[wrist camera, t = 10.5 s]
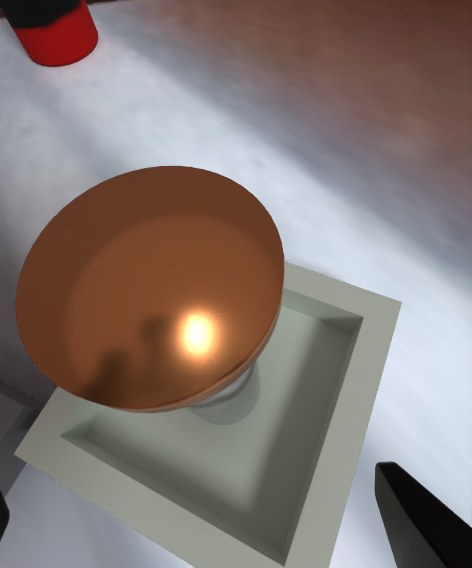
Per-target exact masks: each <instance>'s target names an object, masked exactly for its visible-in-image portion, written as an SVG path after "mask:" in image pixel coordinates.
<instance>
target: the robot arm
mask: <svg viewBox="0 0 472 568" xmlns="http://www.w3.org/2000/svg"><path fill="white" fill-rule="evenodd" d="M375 496H376V501H377V504H378V507H379V510H380V514H381V517H382V520H383V523H384V526H385V530H386V533H387V536H388V539H389V543H390V546H391V549H392V552H393V555H394V559H395V562H396V565H397V568H472V528H471V527H470V526H469V525H468V524H467V523H466V522H464V521H463V520H462V519H461V518H460V517H459V516H457V515H456V514H455V513H454V512H453V511H452V510H450V509H449V508H448V507H447V506H446V505H445V504H443V503H442V502H441V501H440V500H439V499H438V498H437V497H435V496H434V495H433V494H432V493H431V492H430V491H428V490H427V489H426V488H425V487H424V486H423V485H421V484H420V483H419V482H418V481H417V480H416V479H414V478H413V477H412V476H411V475H410V474H409V473H407V472H406V471H405V470H404V469H403V468H402V467H400V466H399V465H398V464H397V463H395V462H379V463H377V464H376V467H375ZM9 516H10V514H9V509H8V507H7V504H6V502H5V499H4V497H3V494H2V492H1V490H0V541H1V538H2V536H3V534H4V531H5V529H6V527H7V525H8V521H9Z"/></svg>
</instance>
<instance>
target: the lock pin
mask: <svg viewBox="0 0 472 568" xmlns="http://www.w3.org/2000/svg"><path fill="white" fill-rule="evenodd" d="M283 284H284V253H283V247H282V242H281V239H280V236H279V233H278V230H277V227H276V225H275V223H274V221H273V219H272V217H271V216H270V214H269V213H268V211H267V210H266V209H265V207H264V206H263V204H262V203H261V202H260V201H259V200H258V199H257V198H256V197H255V196H254V195H253V194H252V193H250V192H249V191H248V190H247V189H245V188H244V187H243V186H241V185H239V184H238V183H236V182H234V181H233V180H231V179H229V178H227V177H224V176H222V175H220V174H217V173H214V172H211V171H207V170H204V169H199V168H193V167H185V166H159V167H150V168H144V169H140V170H135V171H131V172H128V173H125V174H121V175H118V176H116V177H113V178H111V179H108V180H106V181H104V182H102V183H100V184H98V185H96V186H94V187H92V188H90V189H89V190H87V191H86V192H84V193H83V194H81V195H80V196H78V197H77V198H75V199H74V200H73V201H72V202H70V203H69V204H68V205H66V206H65V207H64V208H63V209H62V210H61V211H60V212H59V213H58V214H57V215H56V216H55V217H54V218H53V219H52V220H51V221H50V222H49V223H48V225H47V226H46V227H45V228H44V229H43V231H42V232H41V234H40V235H39V236H38V238H37V239H36V241H35V242H34V244H33V246H32V248H31V250H30V251H29V253H28V255H27V257H26V260H25V262H24V265H23V267H22V270H21V273H20V277H19V281H18V285H17V293H16V320H17V325H18V330H19V334H20V337H21V339H22V342H23V345H24V347H25V349H26V351H27V353H28V354H29V356H30V358H31V359H32V361H33V363H34V364H35V365H36V366H37V367H38V368H39V370H40V371H41V372H42V373H43V374H44V375H45V376H46V377H47V378H48V379H50V380H51V381H52V382H53V383H54V384H56V385H57V386H58V387H60V388H62V389H64V390H65V391H67V392H69V393H71V394H72V395H75V396H77V397H80V398H83V399H86V400H88V401H91V402H94V403H97V404H100V405H103V406H106V407H109V408H112V409H116V410H121V411H126V412H131V413H148V414H150V413H161V412H169V411H174V410H178V409H182V408H186V409H187V410H189V411H191V412H192V413H194V414H195V415H197V416H199V417H200V418H202V419H204V420H205V421H207V422H209V423H212V424H216V425H229V424H234V423H236V422H239V421H240V420H242V419H244V418H245V417H246V416H247V415H248V414H250V413H251V411H252V410H253V409H254V407H255V405H256V404H257V401H258V399H259V395H260V387H261V384H260V375H259V367H258V359H257V358H258V357H259V356H260V355H261V353H262V351H263V350H264V348H265V347H266V345H267V343H268V342H269V340H270V338H271V336H272V333H273V331H274V329H275V327H276V324H277V321H278V317H279V314H280V310H281V303H282V297H283Z"/></svg>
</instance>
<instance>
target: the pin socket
mask: <svg viewBox="0 0 472 568" xmlns="http://www.w3.org/2000/svg"><path fill="white" fill-rule="evenodd" d="M44 407H45V406H44V405H42V404H40V403H38V402H36V401H35V400H33V399H31V398H29V397H28V396H26V395H24V394H22V393H20V392H19V391H17V390H15V389H13V388H11V387H10V386H8V385H6V384H4V383H3V382H1V381H0V490H1V492H2V494H3V497H5V496H6V494H7V493H8V491H9V489H10V488H11V486H12V485H13V483H14V481H15V480H16V478H17V477H18V475H19V474H20V472H21V470H22V469H23V467H24V466H25V464H26V462H25V461H24V460H22V459H20V458H19V457H17V456H16V455H14V453H15V451H16V450H17V448H18V447H19V445H20V443H21V442H22V440H23V439H24V437H25V436H26V434H27V433H28V431H29V430H30V428H31V427H32V425H33V423H34V422H35V420H36V419H37V417H38V416H39V414H40V413H41V411H42V410H43V408H44Z"/></svg>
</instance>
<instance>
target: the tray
mask: <svg viewBox="0 0 472 568" xmlns="http://www.w3.org/2000/svg"><path fill="white" fill-rule="evenodd" d="M401 304H402V302H400V301H397V300H394V299H391V298H388V297H385V296H383V295H380V294H377V293H374V292H371V291H368V290H365V289H362V288H359V287H357V286H354V285H351V284H348V283H345V282H342V281H339V280H336V279H333V278H330V277H328V276H325V275H322V274H319V273H316V272H313V271H310V270H307V269H304V268H301V267H299V266H296V265H293V264H290V263H287V262H284V284H283V297H282V303H281V310H280V314H279V317H278V321H277V324H276V327H275V329H274V331H273V333H272V336H271V338H270V340H269V342H268V343H267V345H266V347H265V348H264V350H263V351H262V353H261V355H260V356H259V357H258V358H257V359H258V367H259V375H260V384H261V387H260V395H259V399H258V401H257V404H256V405H255V407H254V409H253V410H252V411H251V413H250V414H248V415H247V416H246V417H245V418H244V419H242V420H240V421H239V422H236V423H234V424H229V425H216V424H212V423H209V422H207V421H205V420H204V419H202V418H200V417H199V416H197V415H195V414H194V413H192V412H191V411H189V410H187V409H186V408H182V409H178V410H174V411H169V412H161V413H150V414H148V413H131V412H126V411H121V410H116V409H112V408H109V407H106V406H103V405H100V404H97V403H94V402H91V401H88V400H86V399H83V398H80V397H77V396H75V395H72V394H71V393H69V392H67V391H65V390H64V389H62V388H60V387H57V388H56V390H55V391H54V393H53V394H52V396H51V397H50V399H49V400H48V402H47V403H46V405H45V407H44V408H43V410H42V411H41V413H40V414H39V416H38V417H37V419H36V420H35V422H34V423H33V425H32V427H31V428H30V430H29V431H28V433H27V434H26V436H25V437H24V439H23V440H22V442H21V443H20V445H19V447H18V448H17V450H16V451H15V453H14V455H16V456H17V457H19V458H20V459H22V460H24V461H25V462H27V463H28V464H30V465H32V466H33V467H35V468H36V469H38V470H40V471H41V472H43V473H44V474H46V475H48V476H49V477H51V478H52V479H54V480H56V481H57V482H59V483H60V484H62V485H64V486H65V487H67V488H68V489H70V490H72V491H73V492H75V493H76V494H78V495H80V496H81V497H83V498H84V499H86V500H88V501H89V502H91V503H92V504H94V505H96V506H97V507H99V508H101V509H102V510H104V511H105V512H107V513H109V514H110V515H112V516H113V517H115V518H117V519H118V520H120V521H121V522H123V523H125V524H126V525H128V526H129V527H131V528H133V529H134V530H136V531H137V532H139V533H141V534H142V535H144V536H145V537H147V538H149V539H150V540H152V541H153V542H155V543H157V544H158V545H160V546H161V547H163V548H165V549H166V550H168V551H169V552H171V553H173V554H174V555H176V556H177V557H179V558H181V559H182V560H184V561H185V562H187V563H189V564H190V565H192V566H193V567H195V568H329V564H330V561H331V557H332V553H333V550H334V546H335V543H336V539H337V535H338V532H339V528H340V524H341V521H342V517H343V514H344V510H345V506H346V503H347V499H348V496H349V492H350V488H351V485H352V481H353V477H354V474H355V470H356V467H357V463H358V459H359V456H360V452H361V448H362V445H363V441H364V438H365V434H366V430H367V427H368V423H369V420H370V416H371V412H372V409H373V405H374V401H375V398H376V394H377V391H378V387H379V383H380V380H381V376H382V372H383V369H384V365H385V362H386V358H387V354H388V351H389V347H390V343H391V340H392V336H393V333H394V329H395V325H396V322H397V318H398V315H399V311H400V307H401Z"/></svg>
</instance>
